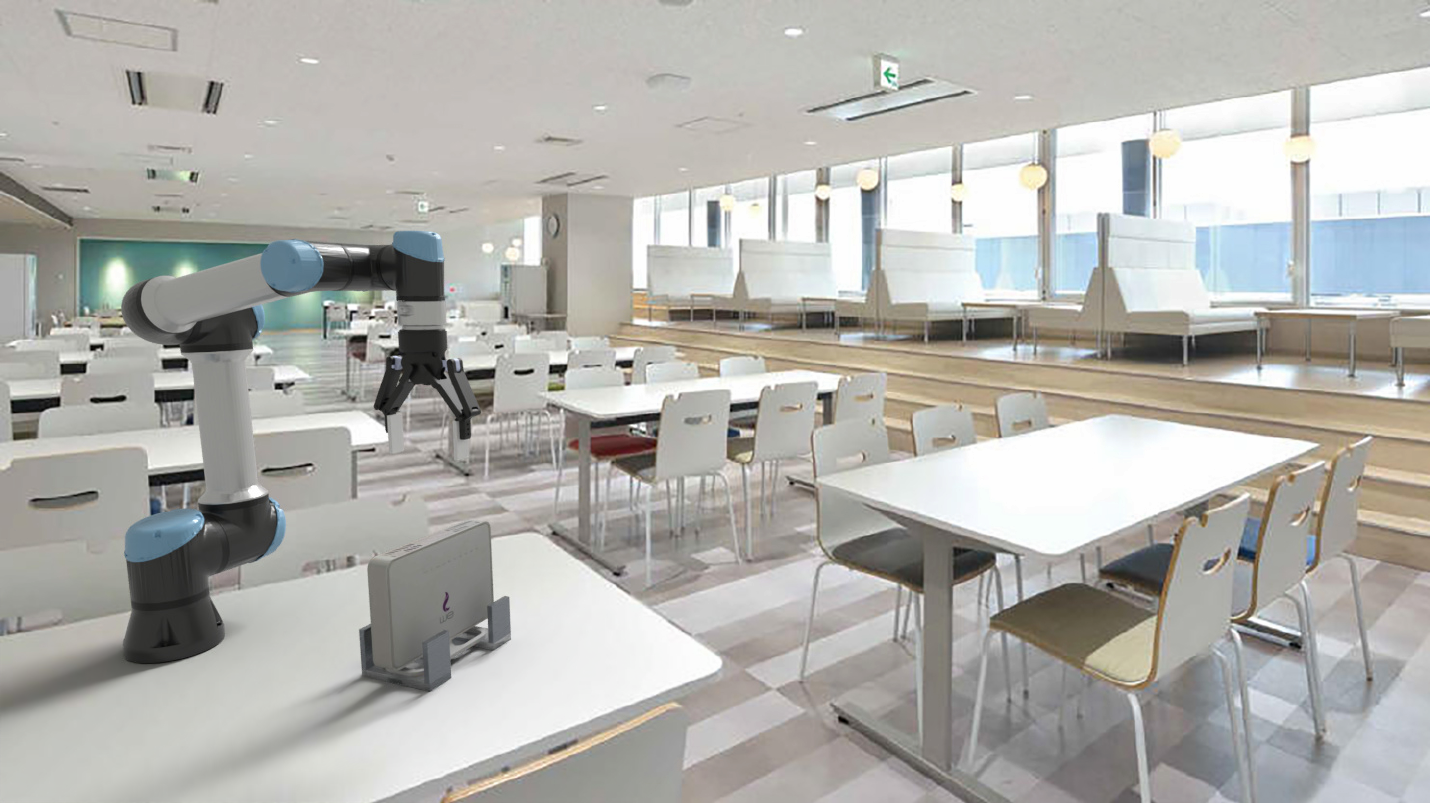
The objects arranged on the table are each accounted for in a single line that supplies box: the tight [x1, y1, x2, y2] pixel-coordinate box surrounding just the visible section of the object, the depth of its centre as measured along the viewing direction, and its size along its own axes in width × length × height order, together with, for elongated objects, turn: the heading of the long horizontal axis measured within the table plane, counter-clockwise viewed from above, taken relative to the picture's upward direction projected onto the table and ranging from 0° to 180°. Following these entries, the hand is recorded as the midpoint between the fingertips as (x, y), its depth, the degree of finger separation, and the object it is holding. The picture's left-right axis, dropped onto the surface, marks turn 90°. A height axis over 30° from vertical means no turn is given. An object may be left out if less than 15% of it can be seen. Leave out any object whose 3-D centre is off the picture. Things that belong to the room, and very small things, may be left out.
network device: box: [366, 518, 495, 676], centre depth 140 cm, size 26×9×20 cm, turn 158°
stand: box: [358, 595, 512, 692], centre depth 141 cm, size 14×21×8 cm, turn 158°
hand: (428, 455), depth 137 cm, fingers open, 13 cm apart
